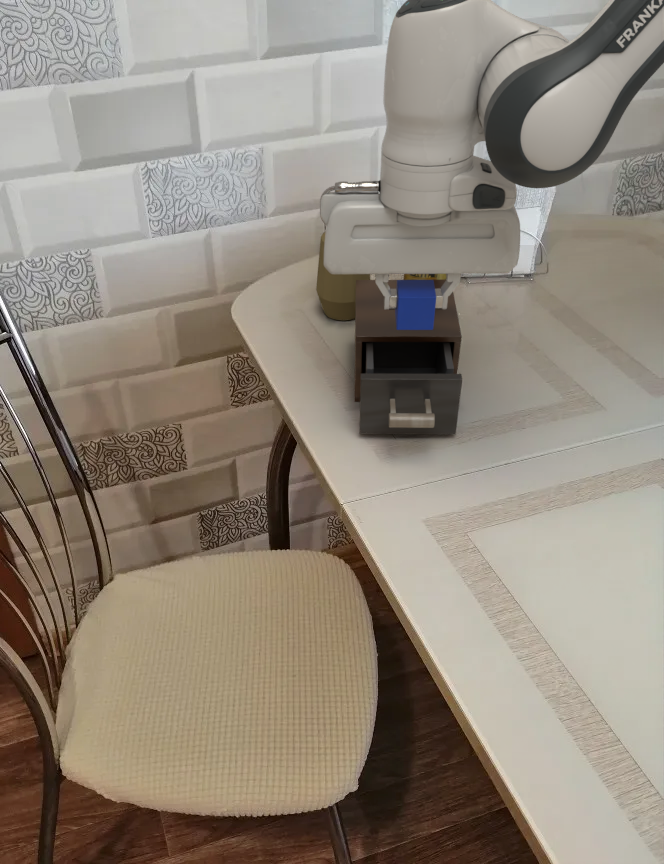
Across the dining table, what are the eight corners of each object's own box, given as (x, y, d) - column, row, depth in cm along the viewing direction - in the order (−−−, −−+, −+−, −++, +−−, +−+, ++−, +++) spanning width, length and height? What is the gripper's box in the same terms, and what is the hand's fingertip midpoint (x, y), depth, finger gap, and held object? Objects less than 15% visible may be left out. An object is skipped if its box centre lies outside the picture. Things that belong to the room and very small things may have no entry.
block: (430, 312, 90) (433, 279, 88) (433, 330, 87) (436, 297, 85) (395, 312, 90) (397, 279, 88) (396, 330, 87) (398, 297, 85)
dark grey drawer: (459, 458, 91) (466, 403, 86) (359, 458, 92) (360, 402, 87) (446, 371, 105) (451, 319, 99) (359, 371, 105) (360, 319, 100)
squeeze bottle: (305, 311, 120) (302, 192, 108) (344, 293, 123) (345, 176, 111) (341, 331, 115) (342, 209, 103) (381, 312, 119) (386, 191, 107)
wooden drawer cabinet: (453, 402, 101) (461, 336, 95) (354, 402, 102) (355, 336, 95) (444, 342, 112) (451, 279, 105) (354, 342, 113) (355, 279, 106)
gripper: (318, 194, 77) (320, 321, 86) (533, 191, 75) (512, 321, 85) (320, 170, 81) (321, 293, 91) (523, 167, 80) (503, 293, 89)
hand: (415, 307), depth 88 cm, fingers closed on block, 4 cm apart
